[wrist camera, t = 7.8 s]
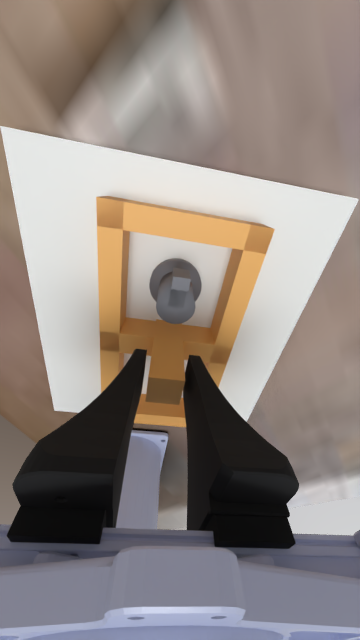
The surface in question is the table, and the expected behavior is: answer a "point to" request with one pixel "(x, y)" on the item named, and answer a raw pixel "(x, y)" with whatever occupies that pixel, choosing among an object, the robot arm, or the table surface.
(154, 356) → the orange link
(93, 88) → the table surface
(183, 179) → the board
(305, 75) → the table surface
